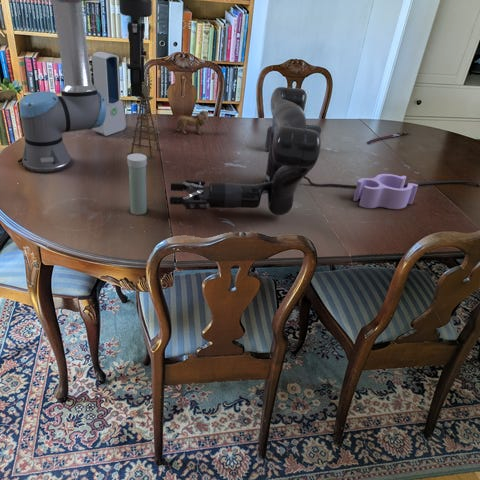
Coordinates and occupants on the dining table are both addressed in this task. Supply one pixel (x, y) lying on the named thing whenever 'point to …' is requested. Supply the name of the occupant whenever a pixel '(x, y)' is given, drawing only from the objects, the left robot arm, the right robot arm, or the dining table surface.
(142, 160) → the lid
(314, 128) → the handheld gaming console
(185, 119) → the lion figurine
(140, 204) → the green bottle
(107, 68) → the electronic device
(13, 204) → the dining table surface
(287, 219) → the dining table surface
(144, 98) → the miniature windmill
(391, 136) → the sword
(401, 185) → the clip
